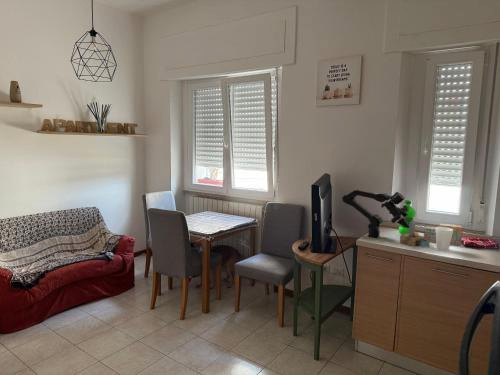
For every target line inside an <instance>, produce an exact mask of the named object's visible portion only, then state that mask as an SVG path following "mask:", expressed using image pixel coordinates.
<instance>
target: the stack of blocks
mask: <svg viewBox="0 0 500 375" xmlns="http://www.w3.org/2000/svg"><path fill="white" fill-rule="evenodd" d="M439 227H446V228H451V229H453V234H452V237H451V241H450V245H452V246H460V247H461V244H462V237H463V226H462V225H458V224H453V223H452V224H451V223H450V224H449V223H439ZM423 230H424V231H423V236H425V238H424V239H425V240H429V241H430V243H436V232H435V230H436V227H435V226H427V225H425V226H424V229H423Z"/></svg>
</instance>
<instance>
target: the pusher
mask: <svg viewBox="0 0 500 375" xmlns="http://www.w3.org/2000/svg"><path fill="white" fill-rule="evenodd" d="M415 232H416V221H414V220H413V221H412V222H410V223H409V236H410V237H412V236H414V233H415Z"/></svg>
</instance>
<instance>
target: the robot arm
mask: <svg viewBox="0 0 500 375" xmlns="http://www.w3.org/2000/svg"><path fill="white" fill-rule="evenodd" d="M357 196H358V197H359V196H360V197H364V198H368V199H373V200H374V201H377V202H378V203H379V202H380V203H381V206H380V207H381V208H382V209H383V208H384V207H385V209H386V210H387V211H388V212H389V213H388V214H390V215H391V216H392V218H391V219H390V220H391V223H392V224H395V223H397V224H399V225H400V224H401V225H403V226H405V227H407V228H409V225H408V223H407V221H406V217H407V215H408V213H407V211H410V210H409V207H408V206H407V205H406V204H404V205H403V206H402V207H403V208H402V207H399V206H396V205H399V204H401V203H402V202H403V201H405V196H404V195H403V194H401V193H400V192H399V191H396V192H394V194H393V195H389V194H387V193H386V192H371V191H366V190H363V189H362V190H361V189H358V188H355V189H354V190H353V191H351V192H349V193H348V194H344V195H343V197H342V202H343V203H344V204H346V205H348V206H351V207H353V208H354V209H355V210H356V211H358V212H359V213H360V214H361V215H362V216H364V217H365V218H366V219H367V220H368V221H369V224H368V225H367V228H368V235H367V237H370V238H376V239H378V238H379V237H380V233H381V230H380V227H381V226H382V225H383V223H384V219H383V218H382V217H381V216H380V215H379V214H377V213H375V214H373V213H372V212H371V211H370V210H368V209H367V208H365V207H364V206H363V205H361V203H359V202H358V201H357V200H356V197H357Z"/></svg>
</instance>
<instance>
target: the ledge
mask: <svg viewBox="0 0 500 375" xmlns="http://www.w3.org/2000/svg"><path fill="white" fill-rule="evenodd" d="M424 238H425V236H424V235H419V236H418V237H415V236H412V237H410V236H409V234H407V233H404V234H402V235H401V234H400V236H399V244H401V245H408V246H413V247H416V246H417V245H419V241H422V240H423V239H424Z"/></svg>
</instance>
